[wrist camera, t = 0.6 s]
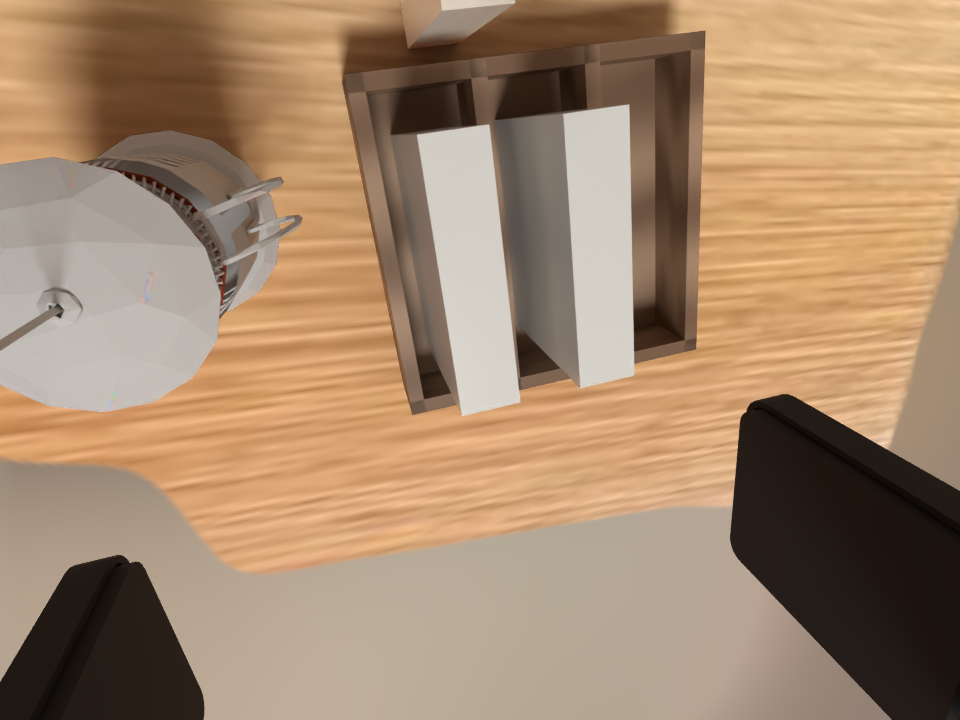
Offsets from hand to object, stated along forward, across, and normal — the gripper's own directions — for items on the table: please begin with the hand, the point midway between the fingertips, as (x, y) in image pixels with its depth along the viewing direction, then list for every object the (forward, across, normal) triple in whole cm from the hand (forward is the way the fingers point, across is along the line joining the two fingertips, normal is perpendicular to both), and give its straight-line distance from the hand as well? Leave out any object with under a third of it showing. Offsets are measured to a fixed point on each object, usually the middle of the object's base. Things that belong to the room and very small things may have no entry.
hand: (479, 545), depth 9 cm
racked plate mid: (+26, -10, 0) cm, 28 cm away
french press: (+27, +9, -2) cm, 28 cm away
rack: (+26, -10, 0) cm, 28 cm away
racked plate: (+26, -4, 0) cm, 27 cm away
